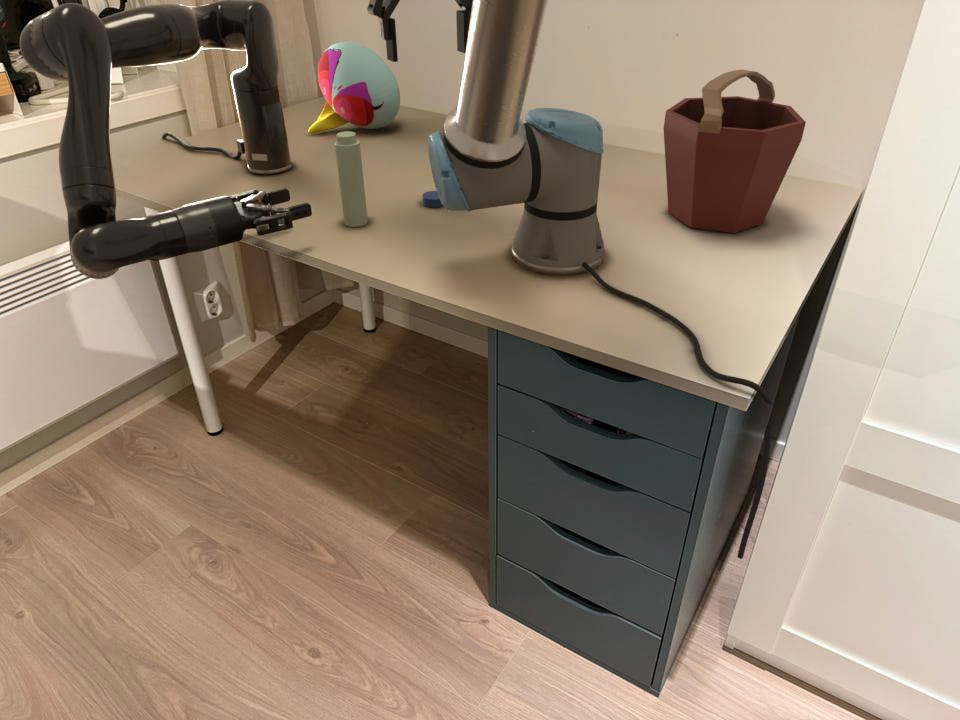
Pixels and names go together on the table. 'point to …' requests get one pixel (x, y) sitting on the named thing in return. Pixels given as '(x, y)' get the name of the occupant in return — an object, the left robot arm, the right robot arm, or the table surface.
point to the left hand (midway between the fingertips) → (299, 201)
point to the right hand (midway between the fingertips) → (428, 56)
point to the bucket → (728, 154)
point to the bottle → (351, 179)
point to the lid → (431, 199)
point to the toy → (355, 88)
